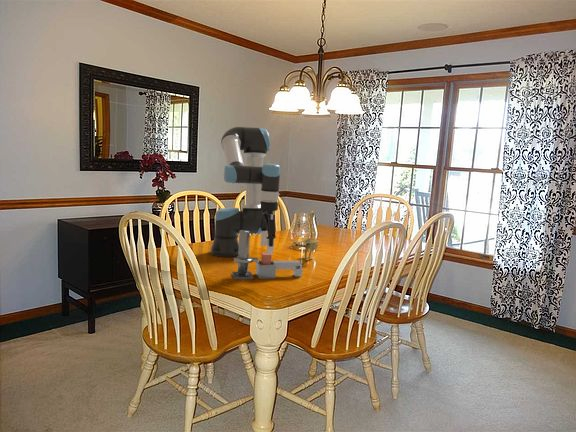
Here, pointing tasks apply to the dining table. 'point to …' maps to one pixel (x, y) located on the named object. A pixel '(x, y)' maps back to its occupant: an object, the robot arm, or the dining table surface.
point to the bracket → (270, 270)
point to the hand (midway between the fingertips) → (266, 249)
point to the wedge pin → (266, 259)
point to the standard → (243, 257)
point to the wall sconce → (310, 240)
